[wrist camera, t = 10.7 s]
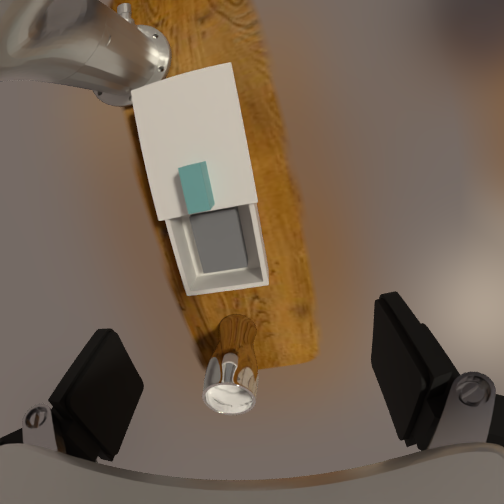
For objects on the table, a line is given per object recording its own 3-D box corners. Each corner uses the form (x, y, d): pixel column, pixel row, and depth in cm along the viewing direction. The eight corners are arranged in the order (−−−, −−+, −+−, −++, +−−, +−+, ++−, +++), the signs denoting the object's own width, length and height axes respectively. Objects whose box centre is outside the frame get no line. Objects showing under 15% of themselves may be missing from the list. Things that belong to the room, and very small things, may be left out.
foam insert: (193, 212, 38) (189, 216, 36) (237, 204, 38) (235, 208, 36) (206, 265, 41) (203, 273, 39) (248, 259, 41) (247, 267, 38)
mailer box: (167, 172, 37) (154, 177, 32) (247, 155, 36) (245, 157, 31) (194, 279, 43) (187, 295, 38) (268, 268, 42) (268, 284, 37)
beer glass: (223, 348, 48) (211, 417, 34) (210, 316, 45) (192, 385, 31) (263, 341, 47) (263, 413, 33) (253, 308, 44) (249, 378, 30)
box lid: (132, 91, 28) (119, 87, 25) (231, 63, 27) (227, 54, 24) (160, 219, 34) (149, 228, 31) (257, 201, 33) (257, 208, 30)
